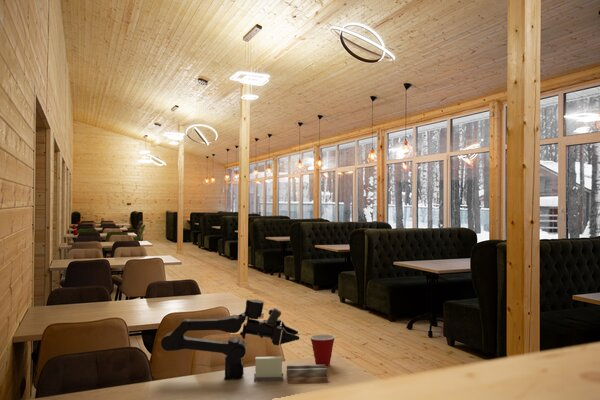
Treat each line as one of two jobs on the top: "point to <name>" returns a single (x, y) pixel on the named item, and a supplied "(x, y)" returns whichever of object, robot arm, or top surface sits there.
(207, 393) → the top surface
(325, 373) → the track plinth
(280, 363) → the door panel
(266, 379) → the grey upright bracket
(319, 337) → the plastic cup
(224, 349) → the robot arm
